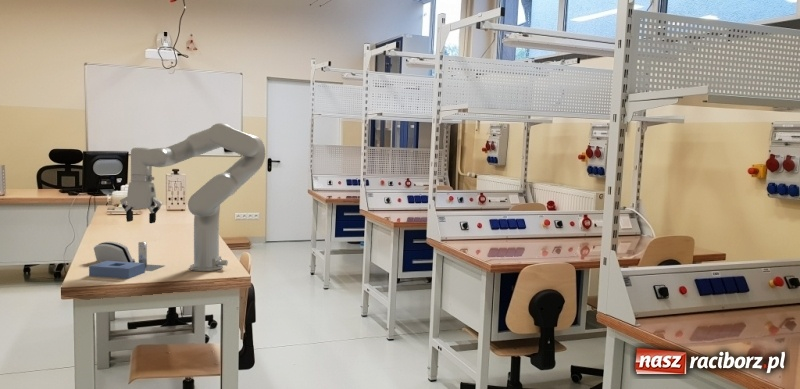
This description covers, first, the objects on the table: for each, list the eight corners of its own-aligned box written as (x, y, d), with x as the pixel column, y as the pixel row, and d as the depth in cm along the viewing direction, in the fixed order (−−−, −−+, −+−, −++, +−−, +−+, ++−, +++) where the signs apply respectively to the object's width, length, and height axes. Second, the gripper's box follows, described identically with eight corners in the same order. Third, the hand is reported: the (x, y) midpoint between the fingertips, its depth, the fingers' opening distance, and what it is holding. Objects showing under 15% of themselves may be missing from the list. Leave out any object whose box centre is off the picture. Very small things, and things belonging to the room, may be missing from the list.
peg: (148, 266, 229) (148, 242, 228) (144, 268, 226) (143, 243, 225) (141, 266, 229) (141, 241, 228) (137, 267, 226) (136, 242, 225)
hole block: (144, 273, 219) (144, 263, 218) (128, 279, 209) (128, 268, 209) (106, 270, 221) (106, 260, 221) (89, 276, 211) (89, 266, 211)
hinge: (136, 262, 236) (129, 241, 232) (127, 268, 232) (120, 247, 228) (106, 258, 242) (99, 238, 238) (97, 264, 238) (90, 243, 234)
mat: (166, 266, 231) (166, 265, 231) (151, 271, 222) (151, 271, 222) (134, 264, 233) (134, 263, 233) (118, 269, 224) (118, 268, 224)
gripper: (166, 179, 227) (166, 222, 228) (126, 177, 229) (126, 219, 231) (156, 180, 219) (155, 224, 221) (115, 178, 222) (115, 221, 223)
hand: (141, 222), depth 226 cm, fingers open, 9 cm apart
